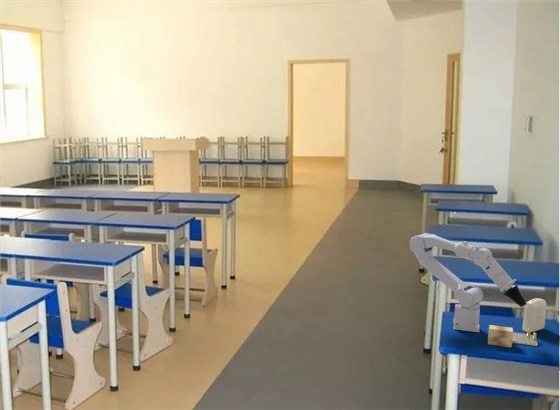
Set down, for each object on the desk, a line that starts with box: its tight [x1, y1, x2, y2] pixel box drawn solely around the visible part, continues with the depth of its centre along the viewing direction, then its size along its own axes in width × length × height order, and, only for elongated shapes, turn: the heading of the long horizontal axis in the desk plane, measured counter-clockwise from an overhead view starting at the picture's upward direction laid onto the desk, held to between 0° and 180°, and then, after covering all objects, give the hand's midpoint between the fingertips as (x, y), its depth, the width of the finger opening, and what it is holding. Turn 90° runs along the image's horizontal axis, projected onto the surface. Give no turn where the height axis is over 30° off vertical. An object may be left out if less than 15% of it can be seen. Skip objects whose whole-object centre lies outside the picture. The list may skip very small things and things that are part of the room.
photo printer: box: [521, 297, 548, 333], centre depth 228 cm, size 10×4×12 cm, turn 123°
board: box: [487, 324, 514, 348], centre depth 214 cm, size 8×4×6 cm, turn 72°
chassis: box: [512, 329, 539, 347], centre depth 218 cm, size 12×9×3 cm
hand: (523, 305), depth 214 cm, fingers open, 7 cm apart
